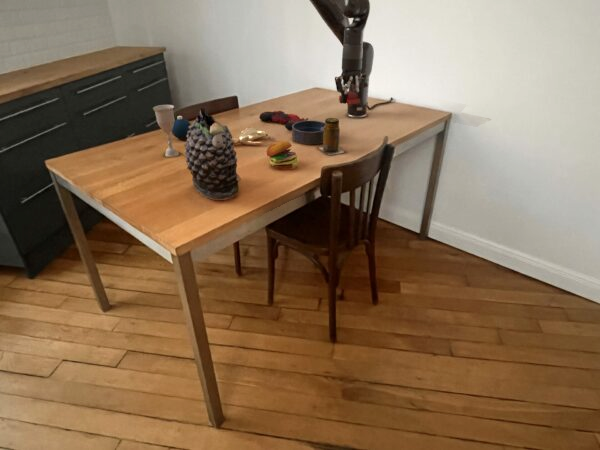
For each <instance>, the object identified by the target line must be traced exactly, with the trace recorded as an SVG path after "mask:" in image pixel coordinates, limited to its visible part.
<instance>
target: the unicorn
mask: <svg viewBox="0 0 600 450" xmlns="http://www.w3.org/2000/svg"><path fill="white" fill-rule="evenodd" d="M263 138H266V140H269V139H271V135H270V133H269V132H265V131H263V130H258V128H257V127H248V128H247V127H245V129H243V130H242V131H240V135H238V136H237V137H236V136H235V137H234V138H232V139H233V146H235V145H239V144H241V145H247V146H248V145H249V146H259V145H263V141H256V140H257V139H263Z"/></svg>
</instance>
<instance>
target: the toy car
mask: <svg viewBox="0 0 600 450" xmlns="http://www.w3.org/2000/svg"><path fill="white" fill-rule="evenodd" d="M346 94H347V101H346V105H347V107H351V106H352V104H355V105H356V106H357V105H359V103H360V99H359V98H356V93H354V92H351V91H349V90H347V93H346ZM338 101H339V103H340V104H343V103H342V102H341V95H339V97H338Z"/></svg>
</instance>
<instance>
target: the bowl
mask: <svg viewBox="0 0 600 450" xmlns="http://www.w3.org/2000/svg"><path fill="white" fill-rule="evenodd" d="M324 126H325V121H324V122H323V121H319V120H307V121H300V122H296V123H294V124H293V125H292V130H291V138H292V140H293V141H294V142H295V143H299V144H304V145H318V144H323V137H324Z"/></svg>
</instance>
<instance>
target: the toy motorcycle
mask: <svg viewBox="0 0 600 450" xmlns="http://www.w3.org/2000/svg"><path fill="white" fill-rule="evenodd" d="M259 119H260V121H262V122H265V123H266V122H267V123H268V122H275V123H277V124H282V125H284V127H285V129H286V130H289V131H292V125H293V124H294V123H296V122H300V121H309V117H307V118H304V117H303V118H301V117H300V116H298V115H297V114H293V113H285V112H284V111H282V110H276V111H275V110H274V111H264V112H261V113H260V114H259Z"/></svg>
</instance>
